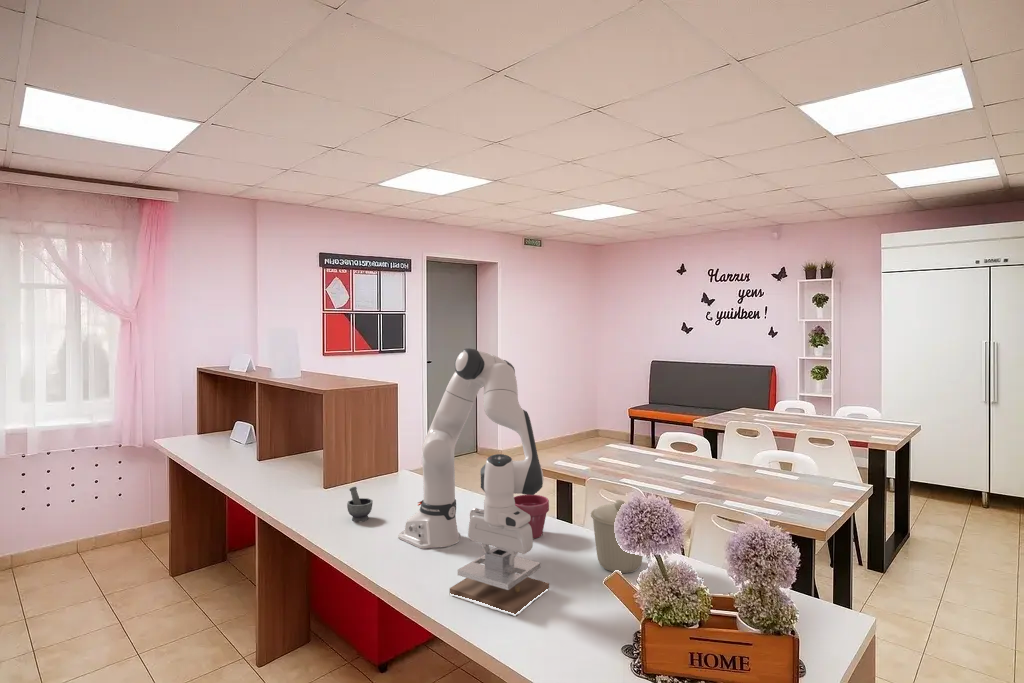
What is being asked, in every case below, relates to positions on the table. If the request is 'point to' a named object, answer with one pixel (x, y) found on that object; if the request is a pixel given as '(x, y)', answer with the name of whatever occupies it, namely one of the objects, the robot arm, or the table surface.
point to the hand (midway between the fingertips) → (499, 561)
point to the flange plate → (499, 569)
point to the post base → (501, 593)
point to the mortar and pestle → (359, 506)
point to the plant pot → (534, 511)
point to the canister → (611, 541)
